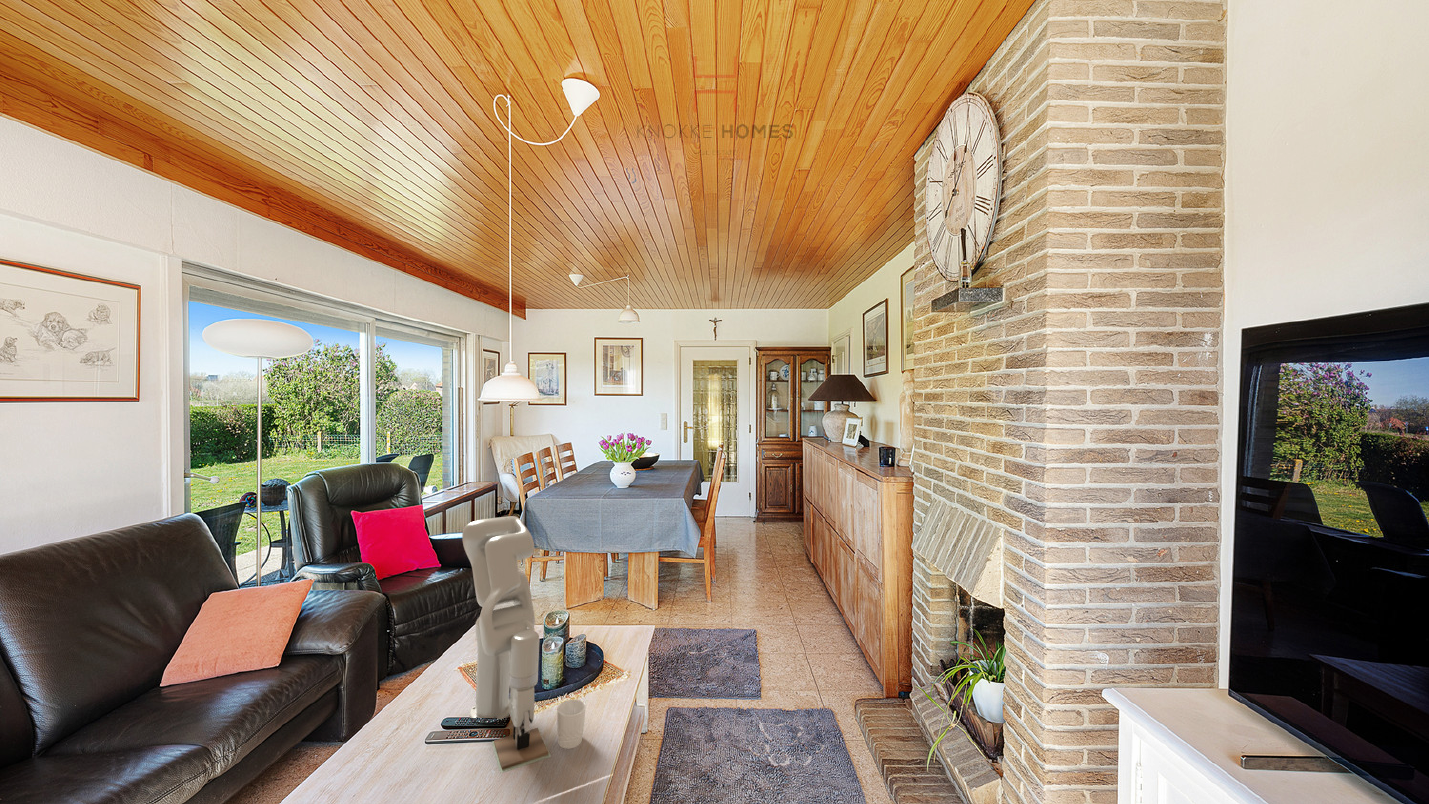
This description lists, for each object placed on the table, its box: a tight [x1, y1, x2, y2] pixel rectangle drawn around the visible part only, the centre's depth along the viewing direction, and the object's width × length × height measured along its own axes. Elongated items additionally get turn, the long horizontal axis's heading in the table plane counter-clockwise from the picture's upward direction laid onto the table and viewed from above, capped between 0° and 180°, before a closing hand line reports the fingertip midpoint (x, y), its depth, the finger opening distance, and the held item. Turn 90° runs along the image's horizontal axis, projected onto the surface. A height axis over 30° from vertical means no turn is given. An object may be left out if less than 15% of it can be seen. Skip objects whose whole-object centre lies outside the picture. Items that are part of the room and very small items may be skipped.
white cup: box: [556, 699, 587, 749], centre depth 149 cm, size 8×8×10 cm
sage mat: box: [491, 727, 551, 774], centre depth 145 cm, size 14×13×1 cm
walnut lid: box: [494, 726, 549, 770], centre depth 145 cm, size 12×12×6 cm
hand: (521, 742), depth 145 cm, fingers open, 4 cm apart
